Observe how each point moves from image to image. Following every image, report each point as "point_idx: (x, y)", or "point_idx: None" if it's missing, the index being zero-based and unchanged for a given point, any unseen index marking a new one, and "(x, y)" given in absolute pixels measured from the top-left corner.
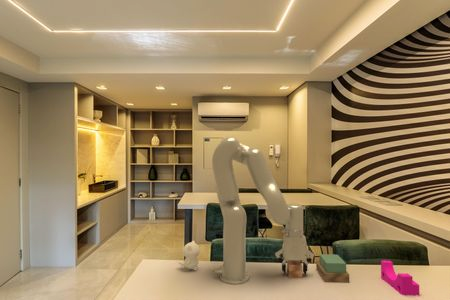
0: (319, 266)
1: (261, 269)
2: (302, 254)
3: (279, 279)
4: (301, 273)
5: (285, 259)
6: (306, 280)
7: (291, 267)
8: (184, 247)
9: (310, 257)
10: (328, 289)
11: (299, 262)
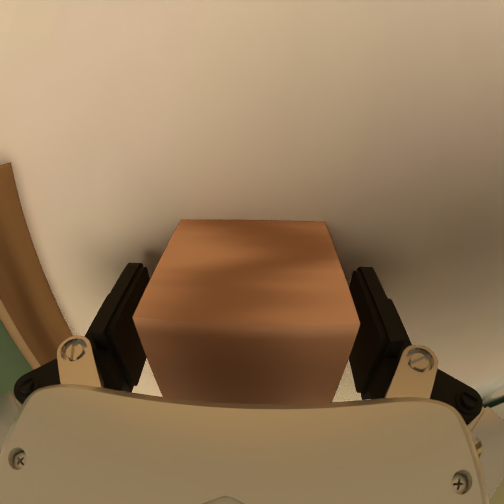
0: (19, 332)
1: (468, 340)
2: (59, 492)
3: (429, 188)
4: (175, 245)
5: (438, 401)
6: (141, 172)
7: (313, 298)
8: None
9: (17, 411)
10: (3, 42)
11: (172, 389)
